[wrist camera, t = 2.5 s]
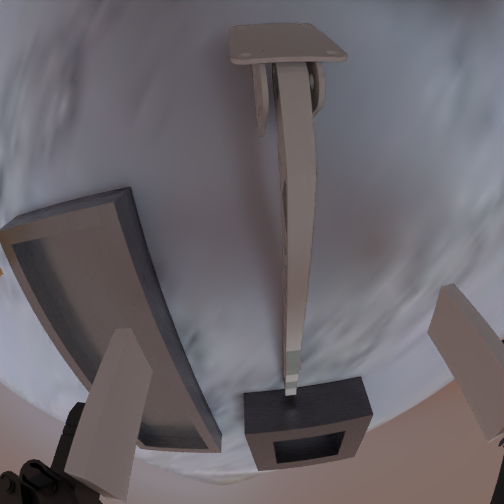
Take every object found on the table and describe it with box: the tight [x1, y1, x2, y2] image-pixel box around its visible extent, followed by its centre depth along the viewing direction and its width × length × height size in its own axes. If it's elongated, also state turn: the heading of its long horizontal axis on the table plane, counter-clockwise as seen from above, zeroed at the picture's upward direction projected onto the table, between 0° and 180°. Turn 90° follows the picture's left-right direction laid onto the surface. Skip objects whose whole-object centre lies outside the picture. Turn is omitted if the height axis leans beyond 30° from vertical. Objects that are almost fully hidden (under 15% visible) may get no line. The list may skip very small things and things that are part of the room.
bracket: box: [229, 23, 347, 396], centre depth 15 cm, size 3×21×10 cm, turn 6°
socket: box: [244, 377, 373, 471], centre depth 24 cm, size 10×10×4 cm
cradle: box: [0, 187, 222, 453], centre depth 20 cm, size 26×9×2 cm, turn 7°
